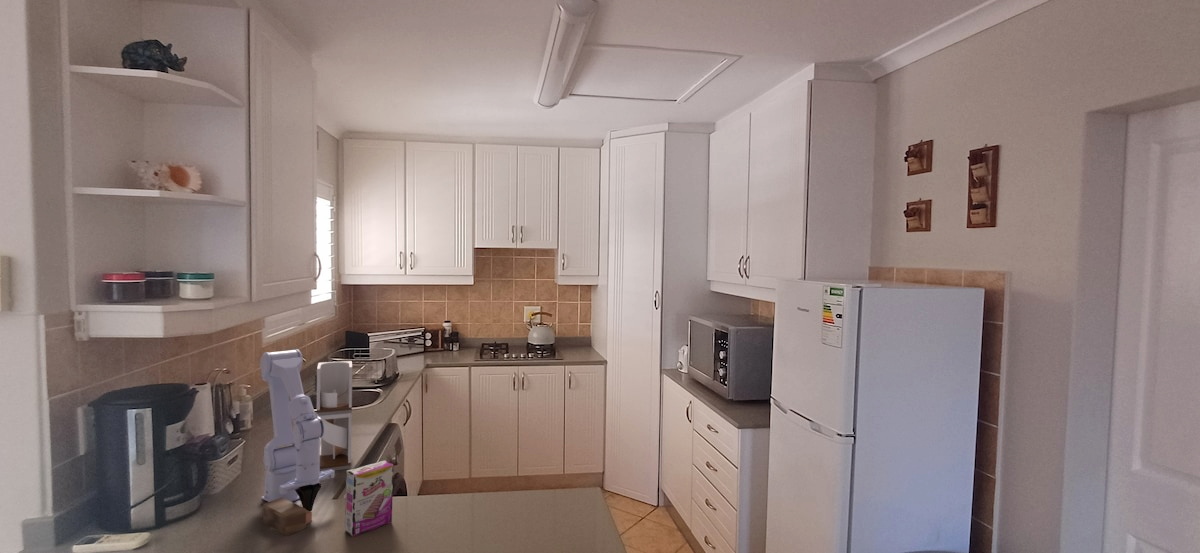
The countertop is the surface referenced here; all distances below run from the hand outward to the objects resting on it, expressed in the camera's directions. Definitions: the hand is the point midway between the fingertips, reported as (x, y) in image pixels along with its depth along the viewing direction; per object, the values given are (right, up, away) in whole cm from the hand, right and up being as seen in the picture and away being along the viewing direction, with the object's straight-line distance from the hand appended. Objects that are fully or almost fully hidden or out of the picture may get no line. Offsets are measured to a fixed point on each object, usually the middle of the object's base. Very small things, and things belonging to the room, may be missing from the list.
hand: (307, 510), depth 152 cm
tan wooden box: (-3, -2, -5) cm, 7 cm away
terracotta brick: (-3, -2, -4) cm, 5 cm away
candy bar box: (+19, -3, -5) cm, 20 cm away
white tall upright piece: (-11, 0, +37) cm, 39 cm away
